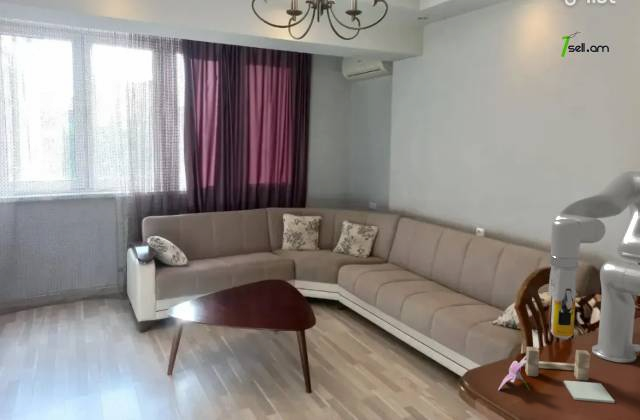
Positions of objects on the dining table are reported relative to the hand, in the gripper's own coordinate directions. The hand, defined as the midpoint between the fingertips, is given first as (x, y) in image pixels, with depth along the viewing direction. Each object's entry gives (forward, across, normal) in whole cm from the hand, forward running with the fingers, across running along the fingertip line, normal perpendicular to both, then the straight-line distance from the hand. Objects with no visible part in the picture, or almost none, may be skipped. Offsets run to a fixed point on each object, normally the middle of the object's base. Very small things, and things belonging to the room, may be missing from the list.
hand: (561, 320), depth 149 cm
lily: (+17, +10, -15) cm, 25 cm away
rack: (+17, -2, -1) cm, 17 cm away
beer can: (+5, 0, 0) cm, 5 cm away
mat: (+17, +10, +5) cm, 20 cm away
